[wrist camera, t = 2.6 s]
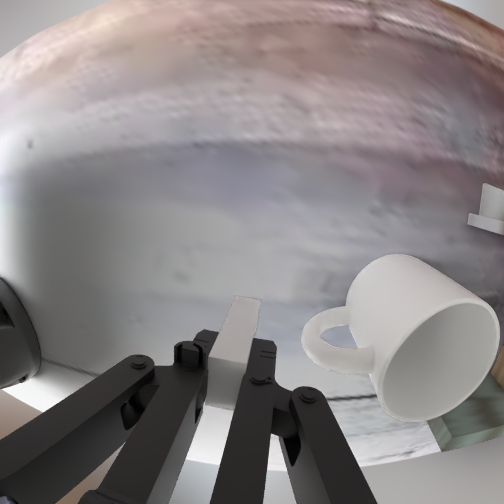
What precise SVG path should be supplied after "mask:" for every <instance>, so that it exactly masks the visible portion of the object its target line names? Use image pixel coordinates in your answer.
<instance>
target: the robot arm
mask: <svg viewBox="0 0 504 504" xmlns="http://www.w3.org/2000/svg"><path fill="white" fill-rule="evenodd" d="M260 304H261V300H258V299H252V298H246V297H240V296H236V297H235V299H234V301H233V303H232V305H231V308H230V310H229V312H228V314H227V316H226V319H225V321H224V323H223V325H222V328H221V330H220V332H214V331H209V330H202V331H201V332H199V333H197V335H196V337H195V338H194V340H193V341H182V342H179V343H177V344H176V345H175V346H174V363H173V365H171V366H154V361H153V360H152V359H151V358H149V357H148V356H145V355H131V356H129V357H127V358H125V359H124V360H122V361H121V362H119V363H118V364H116V365H115V366H113V367H112V368H110V369H109V370H107V371H106V372H104V373H103V374H101V375H100V376H98V377H97V378H95V379H94V380H92V381H91V382H89V383H88V384H86V385H85V386H83V387H82V388H80V389H79V390H77V391H76V392H74V393H73V394H71V395H70V396H68V397H67V398H65V399H64V400H62V401H60V402H59V403H57V404H56V405H54V406H53V407H51V408H50V409H48V410H47V411H45V412H44V413H42V414H40V415H39V416H37V417H36V418H34V419H33V420H31V421H30V422H28V423H27V424H25V425H23V426H22V427H20V428H19V429H17V430H15V431H14V432H12V433H11V434H9V435H8V436H6V437H4V438H3V439H1V440H0V504H55V503H56V502H58V501H59V500H60V499H61V498H62V497H64V496H65V495H66V494H67V493H68V492H70V491H71V490H72V489H73V488H74V487H75V486H77V485H78V484H79V483H80V482H81V481H82V480H84V479H85V478H86V477H87V476H88V475H89V474H91V473H92V472H93V471H94V470H95V469H96V468H97V467H98V466H100V465H101V464H102V463H103V462H104V461H105V460H106V459H107V458H109V457H110V456H111V455H112V454H113V453H114V452H115V451H116V450H117V449H118V448H119V447H121V446H122V445H123V444H124V443H125V444H124V446H123V448H122V449H121V451H120V452H119V454H118V456H117V457H116V459H115V461H114V463H113V464H112V466H111V468H110V469H109V471H108V473H107V474H106V476H105V478H104V479H103V481H102V483H101V484H100V486H99V487H98V488H97V489H96V490H89V491H88V492H86V493H85V494H84V495H83V496H82V498H81V499H80V501H79V502H78V504H168V503H169V501H170V498H171V495H172V493H173V490H174V487H175V485H176V482H177V480H178V477H179V474H180V472H181V469H182V466H183V464H184V461H185V458H186V456H187V453H188V450H189V448H190V445H191V442H192V440H193V437H194V434H195V432H196V429H197V426H198V424H199V421H200V418H201V416H202V413H203V404H204V401H205V405H209V406H213V407H218V408H223V409H228V410H233V411H234V413H233V417H232V421H231V425H230V429H229V433H228V437H227V441H226V444H225V448H224V452H223V456H222V460H221V463H220V467H219V471H218V475H217V478H216V483H215V486H214V490H213V493H212V497H211V500H210V504H263V498H264V490H265V481H266V473H267V464H268V455H269V446H270V436H271V433H272V434H274V435H277V436H279V442H280V445H281V449H282V453H283V456H284V460H285V464H286V467H287V471H288V475H289V478H290V482H291V485H292V489H293V493H294V495H295V500H296V503H297V504H377V502H376V500H375V498H374V496H373V494H372V492H371V490H370V487H369V486H368V483H367V481H366V480H365V477H364V475H363V473H362V471H361V469H360V467H359V465H358V463H357V461H356V459H355V457H354V455H353V453H352V451H351V449H350V447H349V445H348V443H347V441H346V439H345V437H344V435H343V433H342V431H341V429H340V427H339V425H338V423H337V421H336V419H335V417H334V415H333V413H332V411H331V409H330V407H329V405H328V403H327V400H326V398H325V396H324V395H323V394H322V392H320V391H319V390H317V389H315V388H312V387H306V386H303V387H298V388H296V389H294V390H293V391H290V390H287V389H285V388H283V387H281V386H280V385H278V383H277V382H276V381H275V377H274V376H275V363H276V350H277V347H276V345H275V343H274V342H273V341H269V340H263V339H257V338H255V335H256V329H257V323H258V317H259V310H260ZM40 364H41V355H40V348H39V344H38V340H37V337H36V334H35V331H34V329H33V326H32V324H31V322H30V319H29V317H28V315H27V313H26V311H25V310H24V308H23V306H22V304H21V303H20V301H19V300H18V298H17V297H16V295H15V294H14V292H13V291H12V290H11V289H10V287H9V286H8V285H7V284H6V283H5V282H4V281H2V280H1V279H0V389H3V388H7V387H10V386H13V385H16V384H19V383H23V382H26V381H27V380H29V379H30V378H31V377H32V376H33V375H35V374H36V373H37V372H38V370H39V368H40ZM205 398H206V400H205Z"/></svg>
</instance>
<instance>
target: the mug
mask: <svg viewBox="0 0 504 504" xmlns="http://www.w3.org/2000/svg"><path fill="white" fill-rule="evenodd" d="M346 325H348V326H349V329H350V331H351V334H352V336H353V338H354V340H355V343H356V345H357V348H354V349H348V348H338V347H334V346H332V345H329V344H328V343H326V342H325V341H324V340H323V339H322V338H321V334H322V333H323V332H324V331H325V330H327V329H329V328H333V327H337V326H346ZM499 341H500V326H499V321H498V318H497V316H496V313H495V312H494V310H493V309H492V307H491V306H490V305H489V304H488V303H486V302H485V301H483V300H482V299H480V298H479V297H477V296H476V295H475V294H473V293H472V292H470V291H469V290H467V289H466V288H464V287H463V286H461V285H460V284H458V283H456V282H455V281H453V280H452V279H450V278H449V277H447V276H446V275H444V274H442V273H441V272H439V271H438V270H436V269H435V268H433V267H431V266H430V265H428V264H426V263H425V262H423V261H421V260H419V259H418V258H415V257H413V256H410V255H405V254H390V255H386V256H383V257H380V258H378V259H376V260H374V261H372V262H371V263H369V264H368V265H367V266H366V267H365V268H363V269H362V270H361V271H360V273H359V274H358V275H357V276H356V278H355V279H354V281H353V282H352V284H351V286H350V289H349V291H348V294H347V298H346V305H345V306H342V307H337V308H332V309H328V310H326V311H323V312H321V313H319V314H317V315H315V316H314V317H312V318H311V319H310V320H309V321H308V322H307V323H306V325H305V326H304V328H303V331H302V335H301V342H302V346H303V349H304V351H305V353H306V354H307V355H308V357H309V358H310V359H311V360H312V361H313V362H315V363H316V364H317V365H319V366H321V367H323V368H325V369H328V370H330V371H334V372H338V373H344V374H357V375H358V374H369V377H370V379H371V382H372V384H373V387H374V389H375V392H376V394H377V397H378V400H379V403H380V405H381V407H382V408H383V410H384V411H385V412H386V413H387V414H388V415H389V416H391V417H393V418H394V419H397V420H399V421H404V422H421V421H426V420H430V419H433V418H436V417H438V416H441V415H443V414H445V413H447V412H449V411H450V410H452V409H454V408H455V407H457V406H458V405H459V404H461V403H462V402H463V401H464V400H465V399H467V398H468V397H469V396H470V395H471V394H472V393H473V392H474V391H475V390H476V389H477V387H478V386H479V385H480V384H481V382H482V381H483V380H484V378H485V377H486V375H487V373H488V372H489V370H490V368H491V366H492V364H493V362H494V359H495V357H496V354H497V351H498V347H499Z"/></svg>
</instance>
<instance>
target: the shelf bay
mask: <svg viewBox="0 0 504 504" xmlns="http://www.w3.org/2000/svg"><path fill="white" fill-rule="evenodd" d="M467 224H468V225H471V226H474V227H478V228H481V229H485V230H488V231H491V232H494V233H498V234H501V235H504V191H503V190H501V189H498V188H496V187H493V186H491V185H489V184H486V183H483V188H482V196H481V203H480V210H479V215H475V214H471V213H469V216H468V222H467ZM426 421H427V423H428V425H429V427H430V429H431V431H432V433H433V435H434V437H435V439H436V441H437V443H438V445H439V447H440V449H441V451H442V452H444V451H449V450H454V449H458V448H462V447H466V446H470V445H474V444H477V443H481V442H485V441H488V440H491V439H494V438H497V437H500V436H503V435H504V345H503V347H502V349H501V351H500V354H499V356H498V358H497V360H496V362H495V364H494V366H493V368H492V370H491V372H490V373H487V375H486V377H485V378H484V380H483V381H482V382H481V384H480V385H479V386H478V387H477V389H476V390H475V391H474V392H473V393H472V394H471V395H470V396H469V397H468V398H467V399H465V400H464V401H463V402H462V403H461V404H459V405H458V406H457V407H455V408H454V409H452V410H450V411H449V412H447V413H445V414H443V415H441V416H438V417H436V418H433V419H430V420H426Z"/></svg>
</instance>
